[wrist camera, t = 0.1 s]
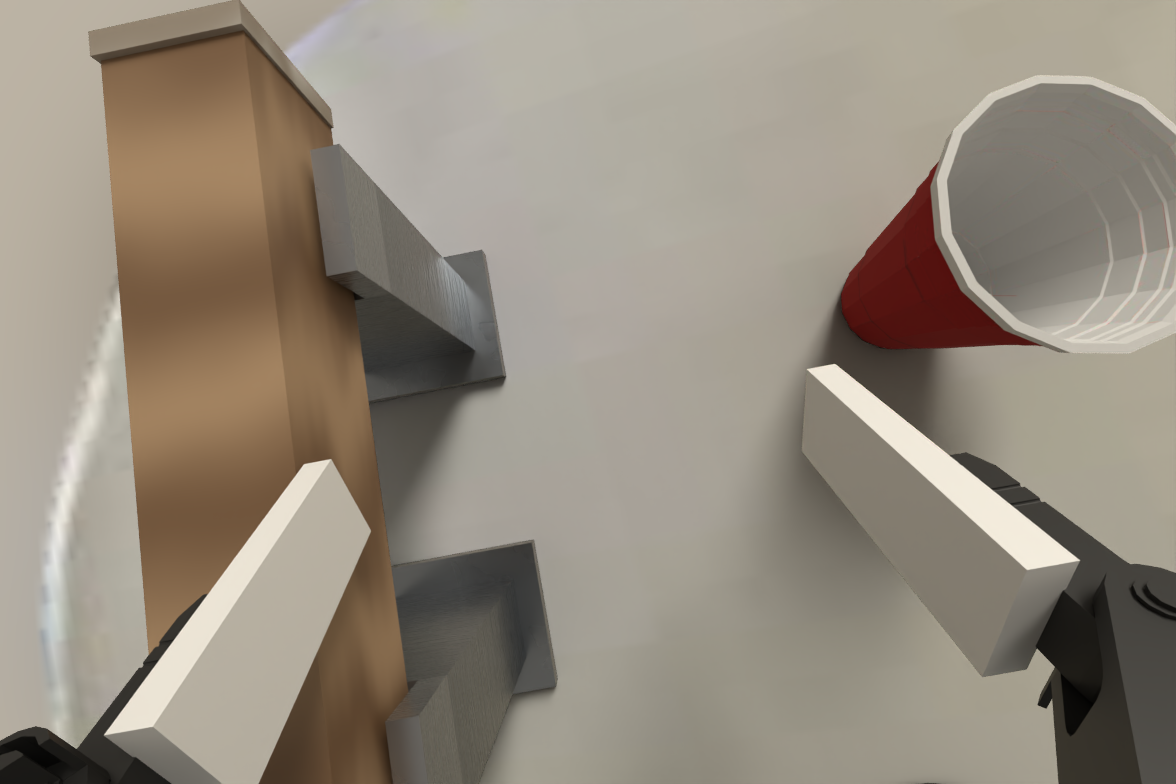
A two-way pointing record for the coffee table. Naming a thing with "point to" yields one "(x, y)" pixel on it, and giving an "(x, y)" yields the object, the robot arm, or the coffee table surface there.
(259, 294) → the rail
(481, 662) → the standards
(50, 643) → the coffee table surface
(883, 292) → the plastic cup
